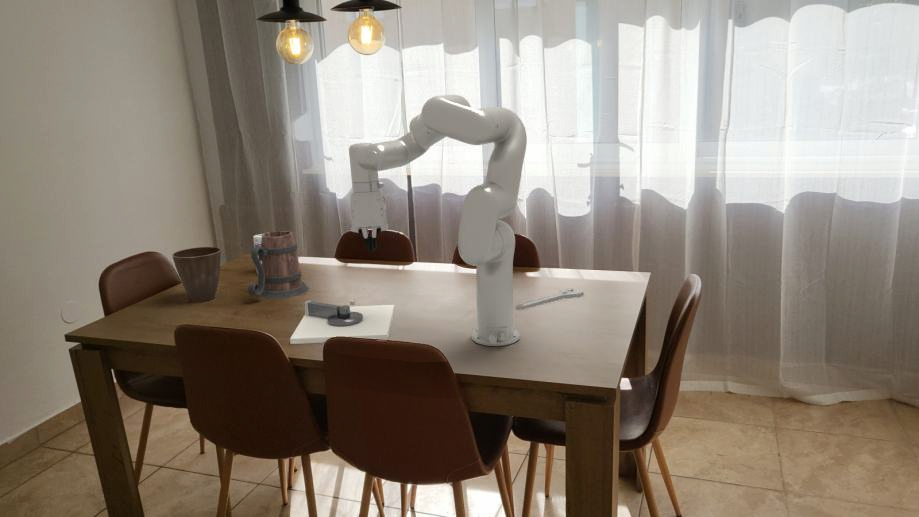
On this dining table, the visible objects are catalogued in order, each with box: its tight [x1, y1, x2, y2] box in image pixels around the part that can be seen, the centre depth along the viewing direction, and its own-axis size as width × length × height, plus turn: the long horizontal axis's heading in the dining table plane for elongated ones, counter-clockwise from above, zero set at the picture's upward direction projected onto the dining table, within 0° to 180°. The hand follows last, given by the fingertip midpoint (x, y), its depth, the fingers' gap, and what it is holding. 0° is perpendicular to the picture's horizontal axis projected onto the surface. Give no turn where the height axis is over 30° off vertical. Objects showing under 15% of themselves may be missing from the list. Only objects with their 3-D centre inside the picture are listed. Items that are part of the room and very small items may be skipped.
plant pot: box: [171, 246, 222, 303], centre depth 230 cm, size 15×15×16 cm
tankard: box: [247, 230, 310, 300], centre depth 232 cm, size 24×17×20 cm
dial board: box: [289, 298, 396, 345], centre depth 203 cm, size 30×26×2 cm
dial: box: [303, 300, 363, 326], centre depth 202 cm, size 19×10×4 cm, turn 60°
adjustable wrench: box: [515, 287, 584, 310], centre depth 217 cm, size 25×6×2 cm, turn 119°
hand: (371, 250), depth 202 cm, fingers closed
